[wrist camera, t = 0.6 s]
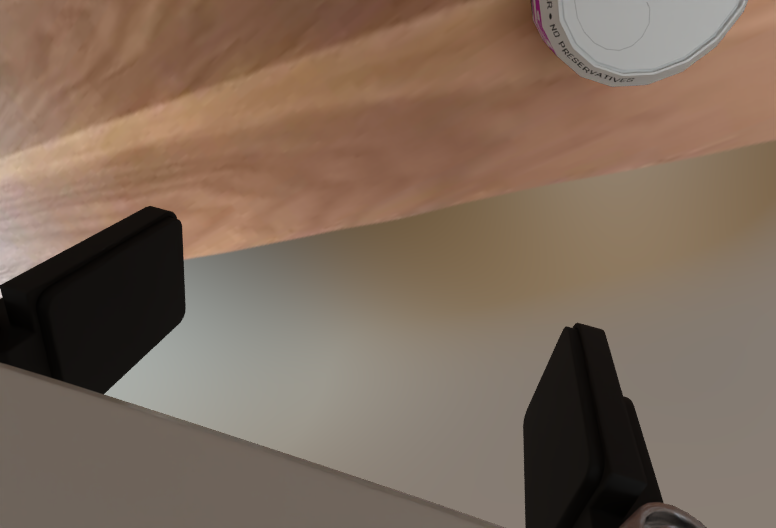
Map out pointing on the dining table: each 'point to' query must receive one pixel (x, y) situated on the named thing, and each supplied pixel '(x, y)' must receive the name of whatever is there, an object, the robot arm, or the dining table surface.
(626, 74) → the supplement can
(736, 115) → the dining table surface
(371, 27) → the dining table surface
